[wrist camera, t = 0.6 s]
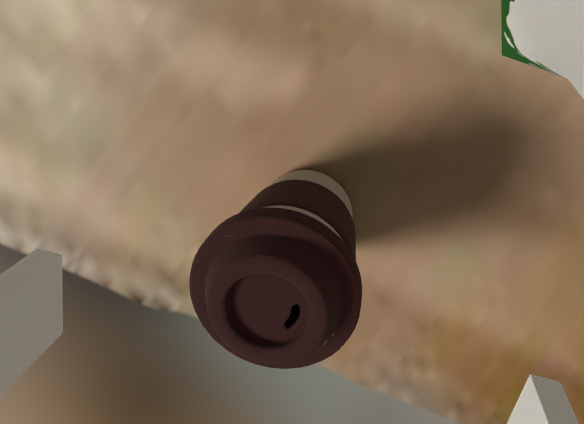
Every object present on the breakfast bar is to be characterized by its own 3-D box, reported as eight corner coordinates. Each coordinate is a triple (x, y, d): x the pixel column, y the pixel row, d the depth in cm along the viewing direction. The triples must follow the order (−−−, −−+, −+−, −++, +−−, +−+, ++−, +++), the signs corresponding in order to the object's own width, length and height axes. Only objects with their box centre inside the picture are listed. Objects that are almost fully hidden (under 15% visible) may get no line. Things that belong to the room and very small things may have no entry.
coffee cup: (223, 192, 42) (142, 282, 28) (324, 126, 38) (287, 193, 25) (292, 285, 44) (248, 411, 30) (394, 231, 41) (395, 345, 27)
